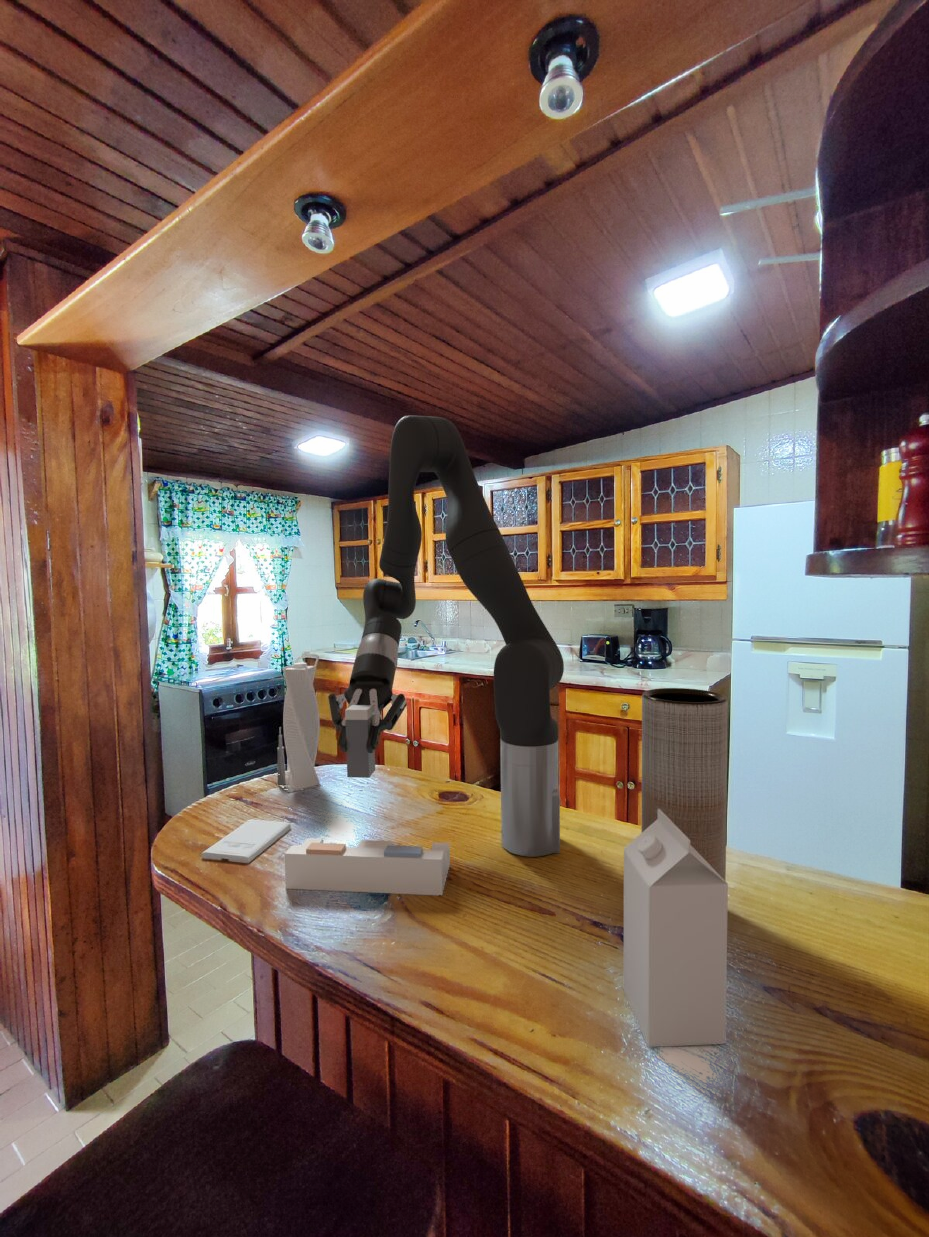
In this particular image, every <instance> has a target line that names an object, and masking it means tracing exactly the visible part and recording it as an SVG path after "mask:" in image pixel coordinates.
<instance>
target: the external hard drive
mask: <svg viewBox="0 0 929 1237" xmlns="http://www.w3.org/2000/svg"><path fill="white" fill-rule="evenodd" d="M291 826H292V824H291V823H290V822H285V821H278V820H277V821H276V820H275V821H274V820H263V819H254V818H253V819H248V820H247V821H245V822H244V823H243V824H241V825H240V826H238V827H237V828H235V829H234V830H232V832H230V833H228V834H227V835H225V836H224V837H223V838H221V839H220V840H218V841H217V842H216V843H214V844H212V845H211V846H210V847H209V848H207V849H206V850H204V851H203V852H201V859H206V860H213V861H227V862H233V863H243V864H249V863H250V862H252V861H253V860H255V858H257V857H258V856H259V855H260V854H262V853H263V852H264V851H265V850H266V849H268V848H269V847H270V846H271V845H272V844H274V843H275V842H276V841H278V840H279V839H281V837H282V836H284V835H285V834H286V833H287V832H289V831H290V830H291V828H292V827H291Z"/></svg>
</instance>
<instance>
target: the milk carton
mask: <svg viewBox="0 0 929 1237" xmlns="http://www.w3.org/2000/svg"><path fill="white" fill-rule="evenodd" d="M623 850H624V851H623V992H624V995H625V997H626V999H627V1002H628V1004H629V1006H630V1008H631V1011H632V1013H633V1015H634V1018H635V1020H636V1022H637V1025H638V1027H639V1029H640V1031H641V1034H642V1036H643V1038H644V1041H645V1043H646V1045H647V1046H648V1047H649V1048H650V1047H651V1048H652V1047H654V1048H655V1047H677V1046H679V1047H680V1046H699V1045H703V1046H704V1045H723V1044H726V1041H727V983H728V982H727V976H728V975H727V968H728V967H727V966H728V964H727V963H728V961H727V960H728V897H729V896H728V893H729V892H728V888H729V886H728V885H729V883H728V882H727V881H725V880H724V879H723V878H722V877H721V876H720V875H719V874H718V873H717V872H716V871H715V870H714V869H713V868H712V867H711V866H710V865H709V864H708V862H707V861H706V860H705V859H704V858H703V857H702V856H701V855H700V854H699V853H698V852H697V851H696V850H695V849H694V848H693V847H692V846H691V845H690V840H689V839H688V838H687V837H686V836H685V835H684V834H683V833H682V831H681V830H680V829H679V828H678V827H677V826H676V825H675V824H674V823H673V822H672V821H671V820H670V819H669V818H668V817H667V816H666V815H665V814H664V813H663V812H662V811H661V810H660V809H658V819H657V820H656V821H655V822H654V823H652V824H651V825H650V826H649V827H648V828H647V829H646V830H644V831H643V832H642V831H641V833H640V834H638V836H636V837H635V838H634V839H633V840H631V842H629V843H628V844H627V845H626V846H625V847H624V848H623Z"/></svg>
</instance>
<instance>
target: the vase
mask: <svg viewBox="0 0 929 1237" xmlns="http://www.w3.org/2000/svg"><path fill="white" fill-rule="evenodd" d="M728 705H729V702H728V698H727V696H725V695H724V694H721V693H720V692H719V693H718V692H716V691H715V692H714V691H711V690H704V689H698V688H697V689H696V688H687V687H686V688H684V687H683V688H681V687H661V688H654V689H653V688H652V689H648V690H646V691H644V692H643V693H642V694H641V833H642V832H643V831H644V830H646V829H647V828H648V827H649V826H650V825H651V824H652V823H654V822H655V821H656V820H657V819H658V809H660V810H661V811H662V812H663V813H664V814H665V815H666V816H667V817H668V818H669V819H670V820H671V821H672V822H673V823H674V824H675V825H676V826H677V827H678V828H679V829H680V830H681V831H682V833H683V834H684V835H685V836H686V837H687V838H688V839H689V840H690V845H691V846H692V847H693V848H694V849H695V850H696V851H697V852H698V853H699V854H700V855H701V856H702V857H703V858H704V859H705V860H706V861H707V862H708V864H709V865H710V866H711V867H712V868H713V869H714V870H715V871H716V872H717V873H718V874H719V875H720V876H721V877H722V878H723V879H724V880H725V881H726V877H727V874H726V872H727V868H726V867H727V866H726V864H727V801H728V800H727V799H728V798H727V792H728V791H727V790H728V789H727V786H728V785H727V784H728V778H727V777H728V775H727V774H728V766H727V765H728V719H729V718H728V716H729V714H728V713H729V712H728ZM726 882H727V881H726Z"/></svg>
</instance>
